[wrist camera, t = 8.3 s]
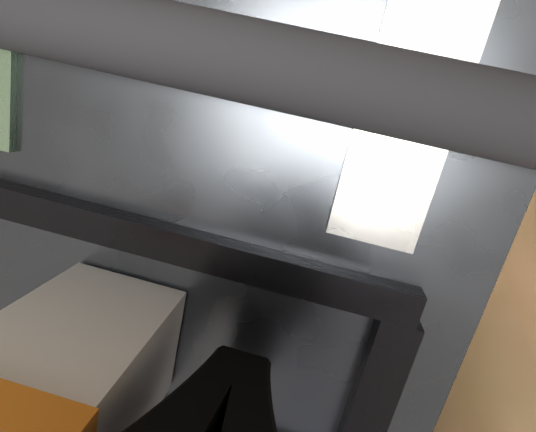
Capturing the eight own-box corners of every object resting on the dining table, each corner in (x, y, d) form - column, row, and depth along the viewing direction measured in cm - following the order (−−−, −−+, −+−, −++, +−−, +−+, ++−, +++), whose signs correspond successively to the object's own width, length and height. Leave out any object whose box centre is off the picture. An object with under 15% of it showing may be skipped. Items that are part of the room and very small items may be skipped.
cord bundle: (401, 585, 14) (420, 716, 11) (-132, 411, 16) (-241, 482, 13) (625, 97, 9) (769, 92, 6) (-183, -70, 11) (-376, -137, 8)
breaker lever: (173, 390, 11) (53, 605, 6) (67, 359, 11) (-123, 541, 7) (190, 289, 10) (65, 450, 5) (75, 258, 10) (-142, 385, 6)
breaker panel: (323, 635, 15) (322, 716, 13) (-55, 505, 16) (-109, 560, 14) (617, -108, 8) (713, -180, 6) (-81, -222, 9) (-192, -310, 7)
